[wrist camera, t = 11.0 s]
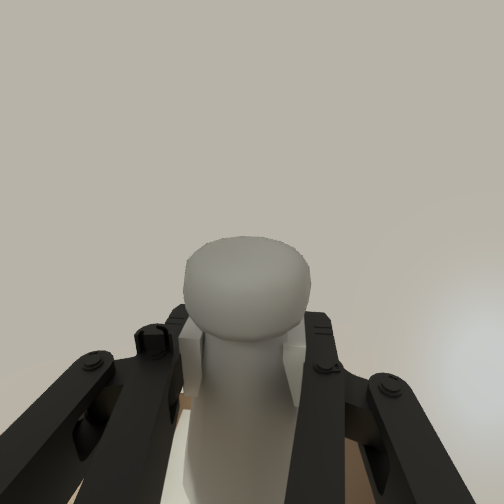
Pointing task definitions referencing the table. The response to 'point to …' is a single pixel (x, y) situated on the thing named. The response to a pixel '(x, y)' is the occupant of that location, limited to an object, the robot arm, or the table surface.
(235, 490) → the salt shaker
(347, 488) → the walnut shelf
